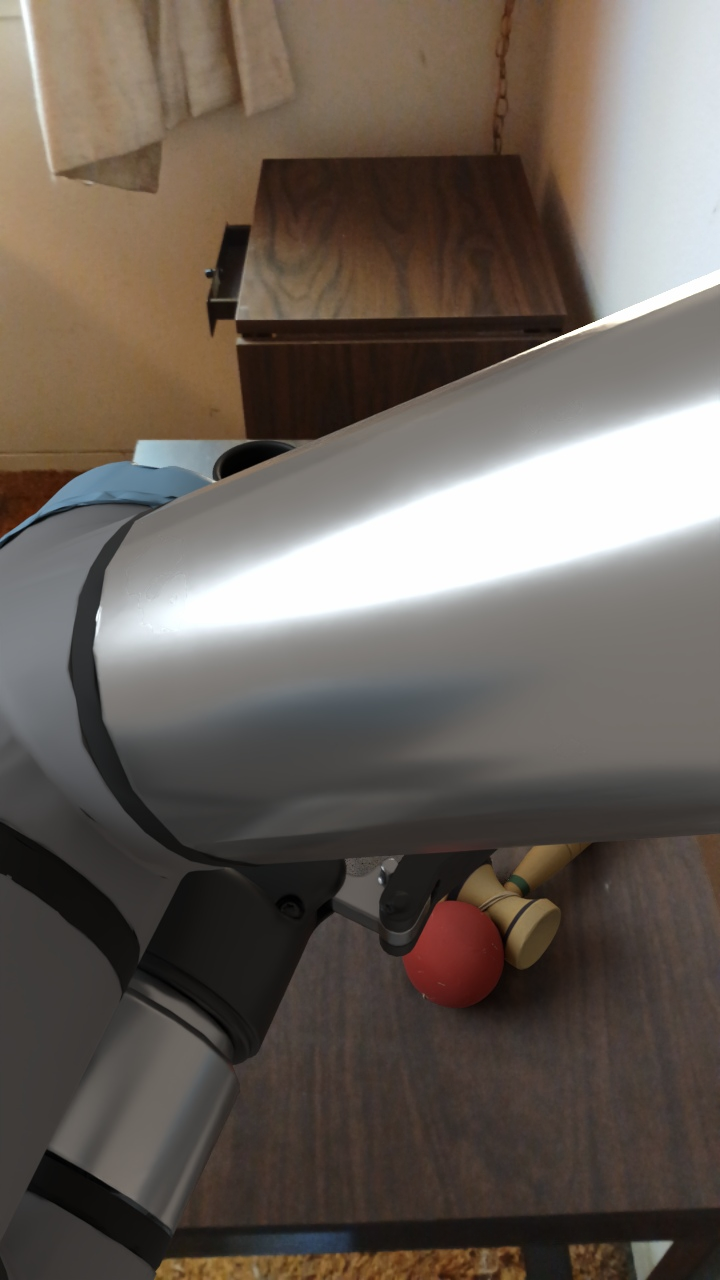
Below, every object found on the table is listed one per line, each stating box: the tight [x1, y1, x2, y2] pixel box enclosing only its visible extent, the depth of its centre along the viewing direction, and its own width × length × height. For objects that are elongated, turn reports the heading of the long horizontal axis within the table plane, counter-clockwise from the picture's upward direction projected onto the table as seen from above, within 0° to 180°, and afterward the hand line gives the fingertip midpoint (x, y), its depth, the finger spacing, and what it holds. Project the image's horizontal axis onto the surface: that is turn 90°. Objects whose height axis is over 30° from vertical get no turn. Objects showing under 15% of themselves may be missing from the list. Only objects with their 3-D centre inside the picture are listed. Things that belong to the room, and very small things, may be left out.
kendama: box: [402, 842, 593, 1009], centre depth 56 cm, size 8×6×18 cm
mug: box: [211, 439, 298, 481], centre depth 82 cm, size 12×9×7 cm
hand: (387, 560), depth 39 cm, fingers open, 13 cm apart
